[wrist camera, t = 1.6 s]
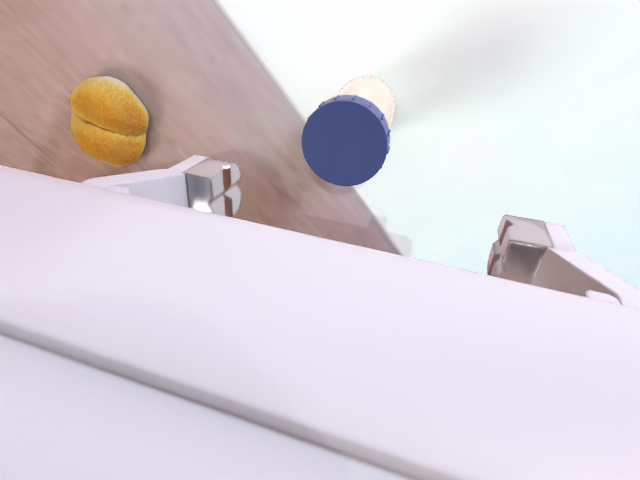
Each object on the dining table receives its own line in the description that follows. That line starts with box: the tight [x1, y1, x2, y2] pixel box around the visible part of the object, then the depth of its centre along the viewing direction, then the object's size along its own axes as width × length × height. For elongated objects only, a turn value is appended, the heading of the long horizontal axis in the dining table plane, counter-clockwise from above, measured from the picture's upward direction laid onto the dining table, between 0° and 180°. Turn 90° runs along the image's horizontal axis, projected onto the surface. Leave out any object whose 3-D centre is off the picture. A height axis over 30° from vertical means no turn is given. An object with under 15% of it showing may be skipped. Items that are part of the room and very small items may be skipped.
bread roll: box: [70, 76, 149, 167], centre depth 41 cm, size 8×9×4 cm
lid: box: [302, 94, 391, 186], centre depth 28 cm, size 6×6×2 cm
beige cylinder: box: [334, 76, 396, 130], centre depth 32 cm, size 5×5×11 cm
